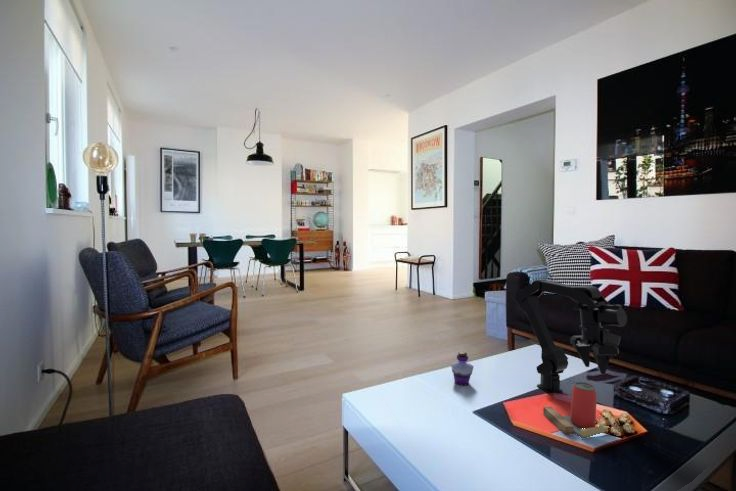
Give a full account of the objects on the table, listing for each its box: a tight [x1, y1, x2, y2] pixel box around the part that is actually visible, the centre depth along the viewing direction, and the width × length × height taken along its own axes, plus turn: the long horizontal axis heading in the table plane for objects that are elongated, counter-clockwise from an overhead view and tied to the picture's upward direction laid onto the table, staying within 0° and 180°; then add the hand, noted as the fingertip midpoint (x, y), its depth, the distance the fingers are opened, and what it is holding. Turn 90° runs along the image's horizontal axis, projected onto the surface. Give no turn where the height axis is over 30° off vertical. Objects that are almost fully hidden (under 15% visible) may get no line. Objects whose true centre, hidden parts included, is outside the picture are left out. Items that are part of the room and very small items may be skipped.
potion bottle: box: [450, 351, 474, 387], centre depth 144 cm, size 9×9×12 cm
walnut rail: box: [542, 406, 575, 436], centre depth 115 cm, size 12×2×2 cm, turn 4°
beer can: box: [570, 381, 598, 428], centre depth 114 cm, size 7×7×12 cm
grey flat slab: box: [561, 414, 610, 439], centre depth 114 cm, size 11×11×2 cm
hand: (595, 370), depth 125 cm, fingers open, 9 cm apart
